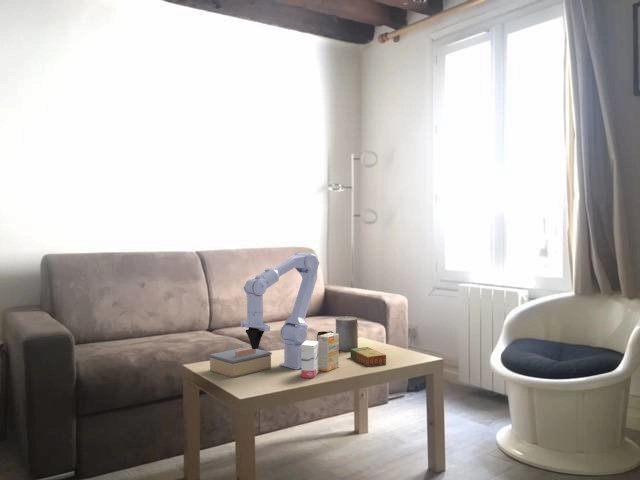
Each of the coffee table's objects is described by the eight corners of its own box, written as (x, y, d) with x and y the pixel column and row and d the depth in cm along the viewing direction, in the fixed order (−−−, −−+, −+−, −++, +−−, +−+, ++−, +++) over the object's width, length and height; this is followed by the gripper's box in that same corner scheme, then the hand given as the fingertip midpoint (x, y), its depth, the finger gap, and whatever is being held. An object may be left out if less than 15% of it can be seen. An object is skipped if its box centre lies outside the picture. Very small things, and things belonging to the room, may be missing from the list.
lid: (271, 354, 213) (271, 347, 213) (232, 363, 199) (232, 355, 199) (247, 348, 223) (247, 341, 223) (209, 356, 209) (209, 349, 209)
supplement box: (328, 372, 208) (328, 337, 207) (317, 370, 210) (317, 335, 210) (339, 367, 215) (339, 333, 214) (328, 365, 217) (328, 332, 217)
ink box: (314, 378, 199) (314, 345, 199) (300, 377, 200) (300, 344, 200) (318, 372, 208) (318, 340, 207) (306, 371, 209) (306, 339, 208)
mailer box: (270, 368, 213) (270, 355, 213) (232, 377, 200) (232, 363, 200) (247, 362, 222) (247, 349, 222) (210, 370, 210) (210, 357, 209)
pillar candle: (356, 346, 251) (356, 313, 251) (359, 351, 241) (358, 316, 241) (334, 346, 251) (334, 313, 250) (336, 351, 241) (336, 317, 240)
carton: (367, 367, 216) (367, 356, 216) (349, 358, 231) (349, 347, 231) (386, 365, 219) (386, 354, 219) (367, 356, 234) (367, 346, 234)
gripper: (234, 310, 207) (234, 347, 207) (259, 315, 197) (259, 353, 197) (248, 308, 212) (249, 344, 212) (274, 313, 202) (274, 350, 202)
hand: (255, 348), depth 205 cm, fingers closed
